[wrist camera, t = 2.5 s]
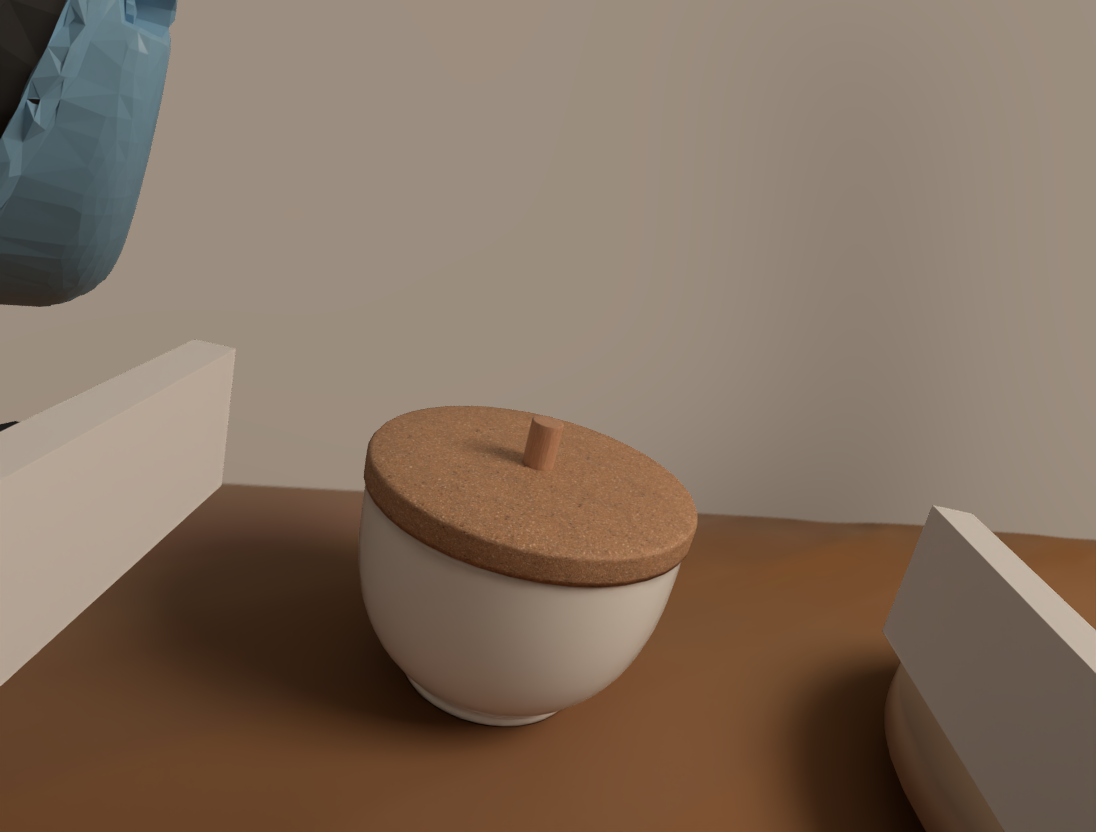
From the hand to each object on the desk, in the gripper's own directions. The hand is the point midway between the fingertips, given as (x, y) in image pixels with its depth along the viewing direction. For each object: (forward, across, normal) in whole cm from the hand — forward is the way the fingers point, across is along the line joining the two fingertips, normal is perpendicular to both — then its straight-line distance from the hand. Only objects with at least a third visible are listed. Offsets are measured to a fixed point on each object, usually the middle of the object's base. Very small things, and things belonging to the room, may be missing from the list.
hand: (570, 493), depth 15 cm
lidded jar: (+11, -1, -12) cm, 16 cm away
